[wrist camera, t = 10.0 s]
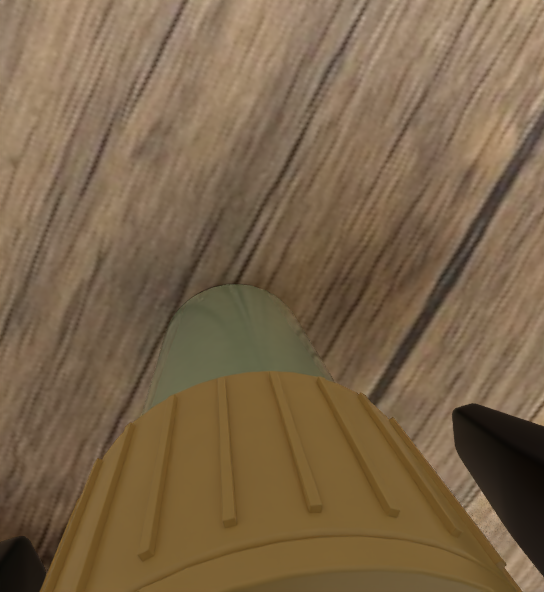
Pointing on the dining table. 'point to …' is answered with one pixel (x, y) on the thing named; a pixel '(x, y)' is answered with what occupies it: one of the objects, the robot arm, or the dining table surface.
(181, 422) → the jar lid
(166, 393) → the jar
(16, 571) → the robot arm
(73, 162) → the dining table surface
